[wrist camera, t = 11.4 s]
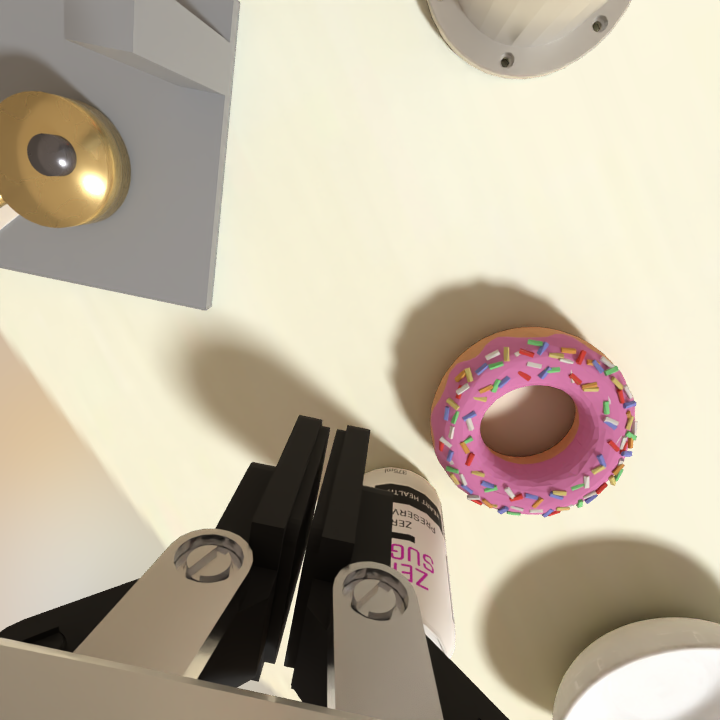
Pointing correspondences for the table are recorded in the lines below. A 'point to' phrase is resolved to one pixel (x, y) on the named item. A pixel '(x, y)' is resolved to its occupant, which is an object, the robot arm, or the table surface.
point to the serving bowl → (646, 674)
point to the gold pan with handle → (60, 160)
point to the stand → (132, 136)
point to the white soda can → (420, 548)
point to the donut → (556, 465)
